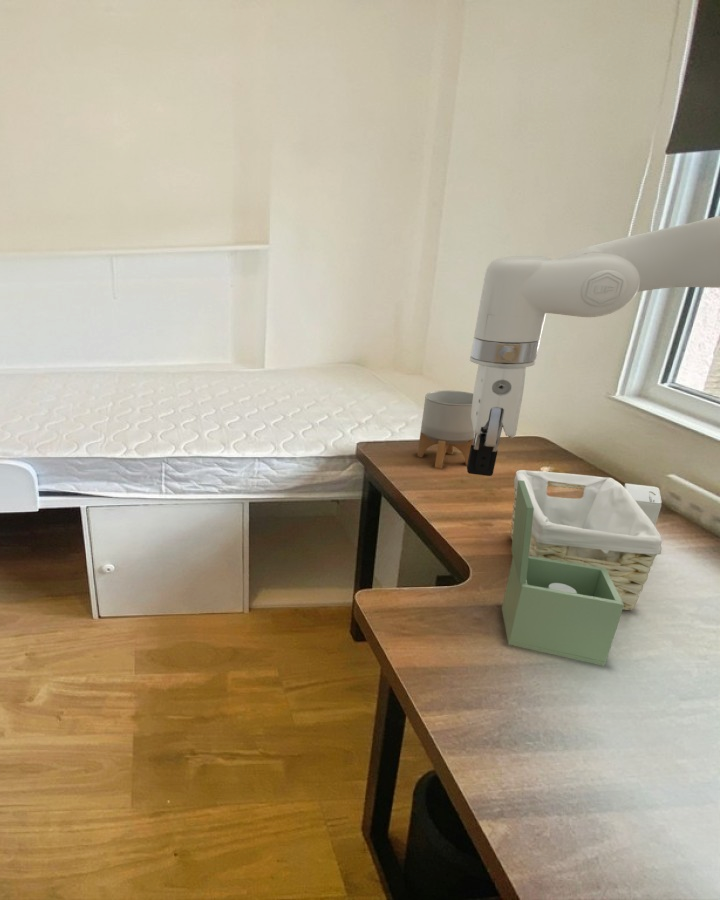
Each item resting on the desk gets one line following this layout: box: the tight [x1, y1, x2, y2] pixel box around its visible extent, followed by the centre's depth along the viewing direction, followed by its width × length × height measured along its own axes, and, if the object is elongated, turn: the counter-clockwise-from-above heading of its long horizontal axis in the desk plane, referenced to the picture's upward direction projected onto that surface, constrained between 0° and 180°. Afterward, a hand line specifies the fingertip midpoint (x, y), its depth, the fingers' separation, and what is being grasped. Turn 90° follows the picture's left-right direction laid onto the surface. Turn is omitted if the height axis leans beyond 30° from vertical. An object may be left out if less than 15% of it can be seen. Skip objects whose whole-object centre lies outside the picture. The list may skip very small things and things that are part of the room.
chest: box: [501, 556, 624, 667], centre depth 84 cm, size 12×10×11 cm
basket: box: [510, 469, 663, 611], centre depth 98 cm, size 24×16×15 cm
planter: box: [416, 390, 474, 470], centre depth 146 cm, size 13×13×18 cm
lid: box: [511, 480, 534, 584], centre depth 83 cm, size 12×10×1 cm
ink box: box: [623, 483, 663, 527], centre depth 104 cm, size 8×5×12 cm, turn 141°
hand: (479, 472), depth 83 cm, fingers closed
